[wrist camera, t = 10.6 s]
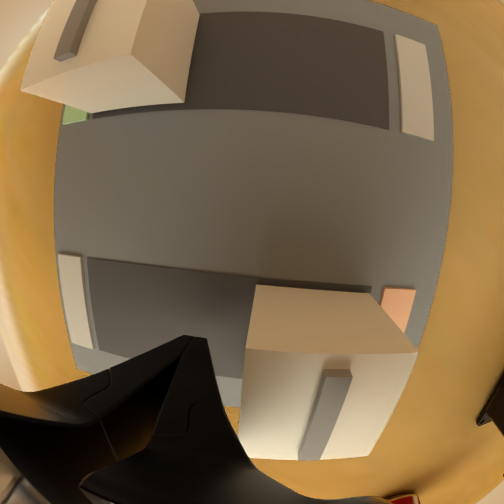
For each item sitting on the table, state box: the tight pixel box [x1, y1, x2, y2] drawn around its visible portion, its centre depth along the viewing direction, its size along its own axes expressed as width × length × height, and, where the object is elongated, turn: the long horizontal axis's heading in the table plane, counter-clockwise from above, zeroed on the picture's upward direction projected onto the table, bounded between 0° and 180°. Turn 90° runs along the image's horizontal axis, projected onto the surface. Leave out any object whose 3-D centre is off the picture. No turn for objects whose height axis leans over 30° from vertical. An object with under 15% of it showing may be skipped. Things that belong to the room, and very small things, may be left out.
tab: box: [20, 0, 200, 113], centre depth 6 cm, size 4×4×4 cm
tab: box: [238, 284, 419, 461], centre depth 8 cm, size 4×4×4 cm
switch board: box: [54, 0, 453, 408], centre depth 10 cm, size 16×18×2 cm
